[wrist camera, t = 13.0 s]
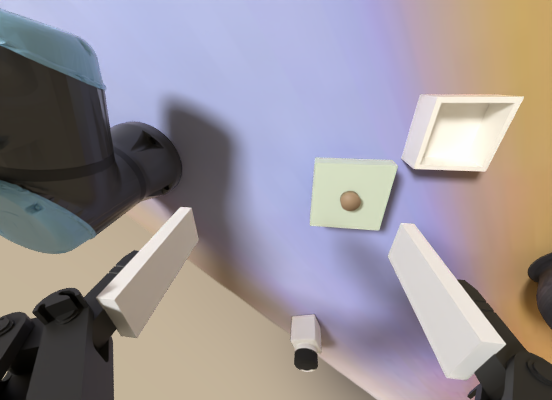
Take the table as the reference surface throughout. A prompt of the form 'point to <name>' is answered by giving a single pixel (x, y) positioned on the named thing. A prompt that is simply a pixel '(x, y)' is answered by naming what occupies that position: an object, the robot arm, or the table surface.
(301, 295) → the table surface
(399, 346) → the table surface
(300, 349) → the medicine bottle
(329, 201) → the lid
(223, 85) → the table surface
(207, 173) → the table surface
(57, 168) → the robot arm
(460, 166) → the dish
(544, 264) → the pitcher
